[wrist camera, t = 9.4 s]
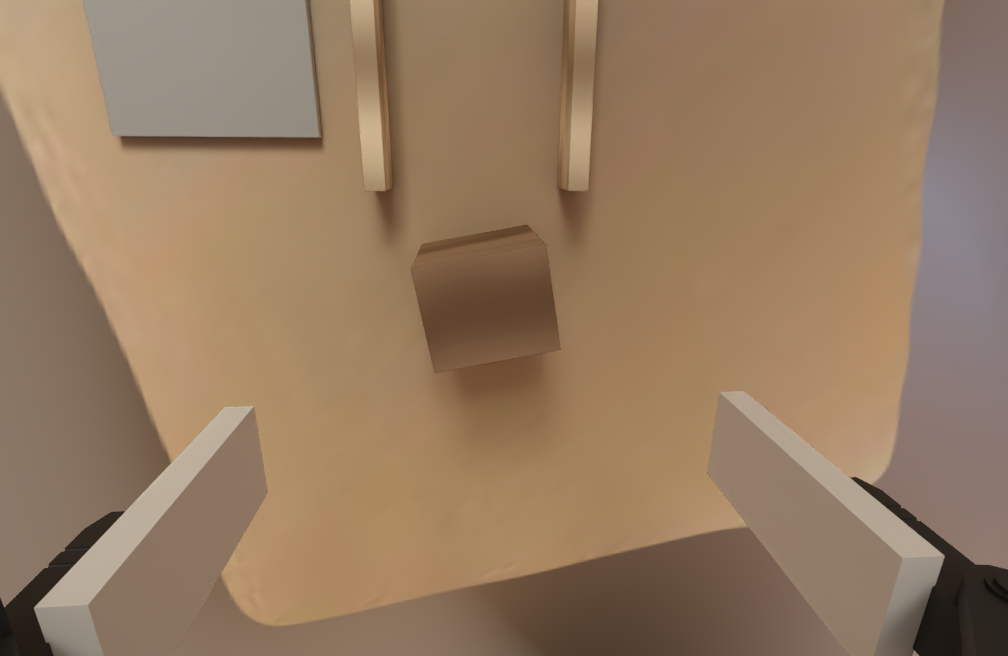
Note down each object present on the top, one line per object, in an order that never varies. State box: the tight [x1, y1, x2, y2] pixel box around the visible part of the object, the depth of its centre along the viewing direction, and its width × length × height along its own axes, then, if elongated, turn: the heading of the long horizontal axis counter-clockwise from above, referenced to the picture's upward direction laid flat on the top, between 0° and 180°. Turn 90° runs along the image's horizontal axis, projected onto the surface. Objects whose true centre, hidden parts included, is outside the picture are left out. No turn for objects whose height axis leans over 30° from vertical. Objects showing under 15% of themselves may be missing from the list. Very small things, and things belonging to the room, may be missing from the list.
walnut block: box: [411, 225, 561, 373], centre depth 27 cm, size 5×6×7 cm
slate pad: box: [83, 0, 322, 138], centre depth 25 cm, size 9×10×1 cm
